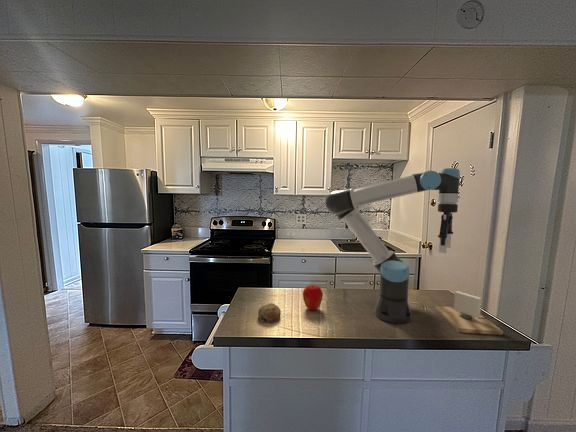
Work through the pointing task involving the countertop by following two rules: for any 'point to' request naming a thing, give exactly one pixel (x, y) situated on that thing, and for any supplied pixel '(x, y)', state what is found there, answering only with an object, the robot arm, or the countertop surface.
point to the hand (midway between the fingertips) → (444, 249)
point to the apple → (312, 297)
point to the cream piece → (467, 305)
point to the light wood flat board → (468, 322)
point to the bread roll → (269, 313)
